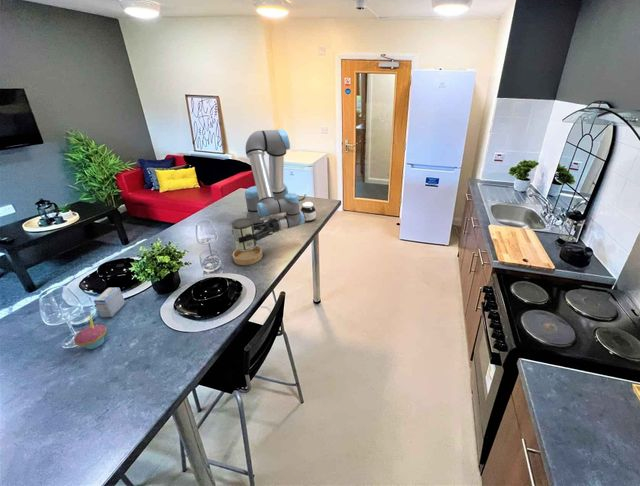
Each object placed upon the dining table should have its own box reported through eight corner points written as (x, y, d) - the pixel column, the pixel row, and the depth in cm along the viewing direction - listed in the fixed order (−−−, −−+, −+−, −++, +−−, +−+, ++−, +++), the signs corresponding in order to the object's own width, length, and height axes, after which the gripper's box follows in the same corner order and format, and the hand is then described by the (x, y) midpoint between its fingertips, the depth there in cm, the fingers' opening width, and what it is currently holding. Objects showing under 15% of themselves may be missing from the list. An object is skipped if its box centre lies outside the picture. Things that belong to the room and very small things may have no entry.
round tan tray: (245, 248, 163) (244, 242, 162) (267, 252, 160) (267, 247, 158) (227, 262, 151) (226, 256, 149) (251, 267, 147) (250, 261, 146)
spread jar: (318, 219, 199) (317, 203, 195) (306, 225, 191) (305, 209, 186) (305, 215, 205) (304, 200, 200) (293, 220, 196) (292, 205, 192)
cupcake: (106, 330, 109) (94, 306, 104) (114, 341, 104) (102, 316, 99) (76, 346, 102) (62, 321, 97) (83, 358, 98) (69, 333, 93)
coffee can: (245, 239, 158) (241, 216, 152) (260, 243, 155) (257, 220, 150) (231, 249, 149) (226, 225, 144) (247, 253, 146) (243, 228, 141)
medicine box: (115, 303, 122) (107, 287, 118) (126, 303, 122) (119, 286, 118) (100, 317, 114) (92, 300, 111) (112, 317, 115) (105, 300, 111)
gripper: (286, 238, 153) (243, 252, 140) (270, 223, 169) (230, 234, 156) (285, 226, 150) (241, 238, 137) (268, 211, 166) (228, 221, 153)
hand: (235, 236), depth 147 cm, fingers closed on coffee can, 10 cm apart
